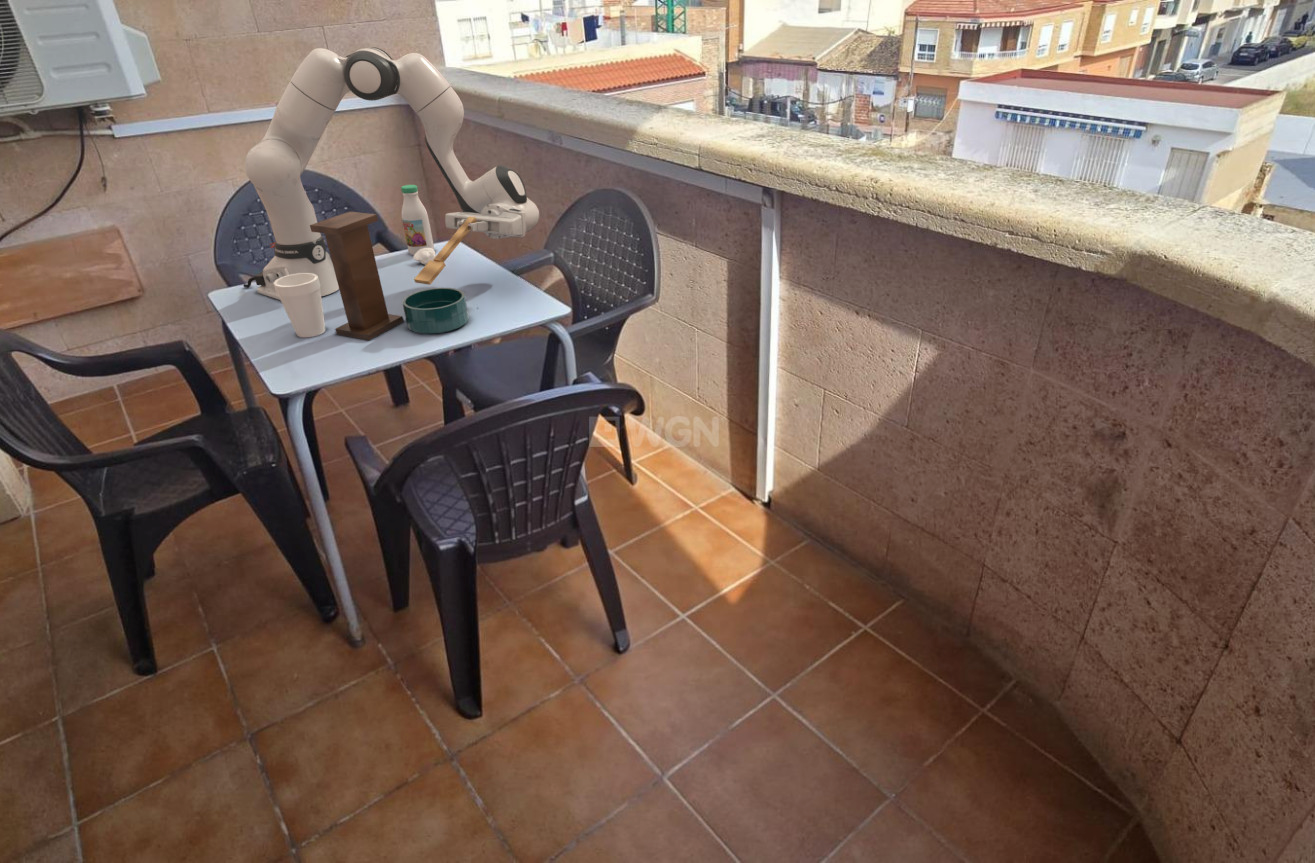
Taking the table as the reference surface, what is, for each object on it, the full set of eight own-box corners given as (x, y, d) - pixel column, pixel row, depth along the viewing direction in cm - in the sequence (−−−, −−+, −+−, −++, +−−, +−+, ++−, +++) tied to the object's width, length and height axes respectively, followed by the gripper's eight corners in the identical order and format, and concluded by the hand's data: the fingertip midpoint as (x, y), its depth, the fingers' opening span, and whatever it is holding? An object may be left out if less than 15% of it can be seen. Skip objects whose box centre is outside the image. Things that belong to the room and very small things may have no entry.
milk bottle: (420, 247, 231) (407, 182, 221) (439, 250, 228) (427, 184, 218) (403, 254, 225) (389, 187, 215) (423, 257, 222) (409, 189, 212)
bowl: (395, 330, 173) (389, 304, 170) (433, 309, 185) (429, 284, 181) (444, 339, 168) (438, 312, 165) (480, 316, 180) (476, 291, 176)
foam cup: (316, 341, 169) (301, 287, 163) (281, 338, 171) (264, 285, 164) (339, 325, 177) (325, 273, 171) (306, 323, 179) (290, 272, 172)
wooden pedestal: (336, 334, 172) (306, 224, 159) (372, 316, 182) (346, 211, 168) (369, 340, 169) (340, 228, 155) (403, 321, 178) (380, 214, 165)
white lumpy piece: (439, 260, 220) (438, 248, 217) (433, 269, 216) (432, 257, 213) (417, 256, 220) (415, 244, 217) (410, 264, 216) (409, 253, 213)
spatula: (467, 220, 182) (465, 215, 181) (481, 222, 180) (479, 217, 179) (415, 282, 169) (412, 277, 168) (430, 284, 167) (427, 280, 166)
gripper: (463, 205, 192) (429, 209, 180) (530, 212, 185) (499, 217, 173) (464, 229, 195) (431, 235, 183) (530, 237, 188) (500, 244, 176)
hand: (465, 226), depth 178 cm, fingers closed on spatula
